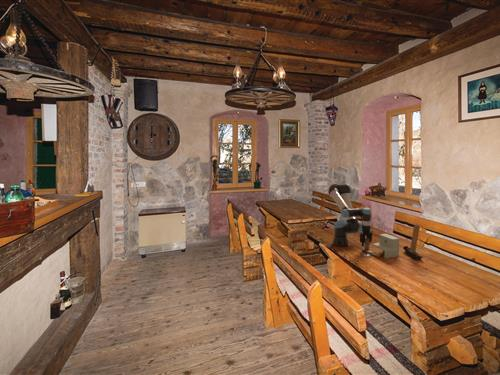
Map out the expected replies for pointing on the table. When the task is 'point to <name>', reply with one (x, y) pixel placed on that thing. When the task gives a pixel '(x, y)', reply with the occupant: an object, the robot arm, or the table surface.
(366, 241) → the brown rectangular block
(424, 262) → the table surface
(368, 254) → the chrome dome knob
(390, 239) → the plinth shelf
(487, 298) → the table surface
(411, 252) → the hammer
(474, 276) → the table surface
